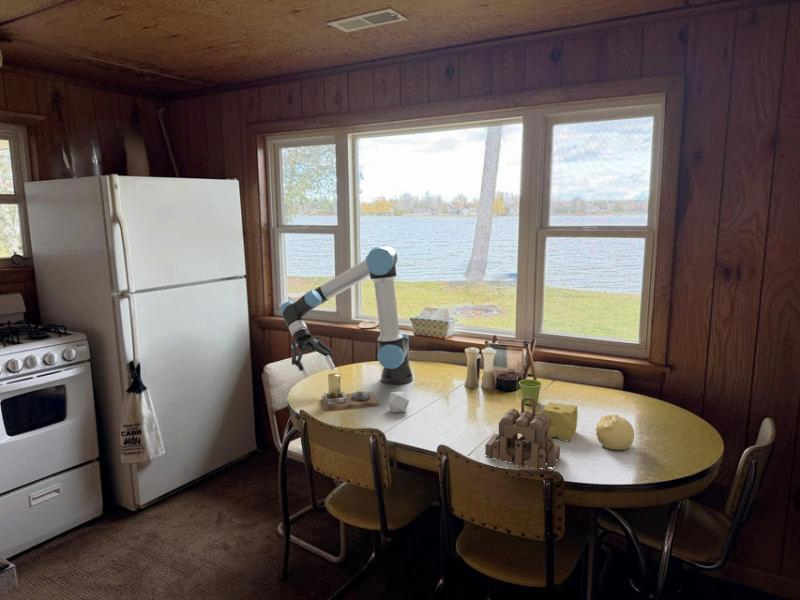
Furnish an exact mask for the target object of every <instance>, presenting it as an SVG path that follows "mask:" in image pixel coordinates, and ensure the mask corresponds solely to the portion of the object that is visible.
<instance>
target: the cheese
mask: <svg viewBox="0 0 800 600" xmlns="http://www.w3.org/2000/svg"><path fill="white" fill-rule="evenodd" d="M541 413H543V414H544V415H546V417H547V419H549V432H548V436H550V437H555V438H557V437H558V438H557V439H558V440H560V439H563V440H562V441H564V440H568V441H569V440H570V441H571V439H572V437H573V436H574V435H575V433H576V432H575V431H577V425H578V415H579V414H578V413H579V411H578V405H574V404H564V403H559V402H553V401H549V402H548V403H547V404H546V405H545V406H544V408H543V409H541ZM573 434H574V435H573ZM572 435H573V436H572ZM568 441H567V442H568ZM570 441H569V442H570Z"/></svg>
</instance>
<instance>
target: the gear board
mask: <svg viewBox="0 0 800 600" xmlns="http://www.w3.org/2000/svg"><path fill="white" fill-rule="evenodd" d="M321 399H322V405H323V410H324V411H327V412H328V411H339V410H346V409H348V410H349V409H356V408H368V407H377V406H379V402H378V401H377V398H376V396H375V394H374V393H373V391H372V390H371V391H363V390H360V391H359V390H358V391H355V392H350V393H345V391H341V398H334V399H329V392H324V393H323V395H321Z"/></svg>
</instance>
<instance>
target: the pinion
mask: <svg viewBox="0 0 800 600" xmlns="http://www.w3.org/2000/svg"><path fill="white" fill-rule="evenodd" d="M327 377H328V379H327V381H328V393H329V399H334V398H341V392H342V391H341V389H342V388H341V374H340V373H339V372H337V373H336V372H332V373H329V374H328V375H327Z"/></svg>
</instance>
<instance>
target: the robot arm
mask: <svg viewBox="0 0 800 600" xmlns="http://www.w3.org/2000/svg"><path fill="white" fill-rule="evenodd" d="M397 264H398V253H397V251H396V250H395V249H394V248H393V247H391V246H390V245H387V244H383V245H379V246H376V247H374V248H372V249H371V250H370V251H369V252H368V253H367V255H366V256H365V259H364V260H362V261H361V262H359V263H358V264H356V265H354V266H352V267H350V268H349V269H347V270H345V271H343V272H342V273H340V274H339V275H337V276H335V277H333V278H332V279H330V280H328V281H327V282H325V283H323V284H322V285H320V286H318V287H316V288H315V289H310V290H309V291H307V292H306V293H304V294H303V295H302V296H301V297H300V298H298V299H297V300H296V301H295V302H294V301H293V300H288V301H286V302H284V303H282V304H281V305H280V308H279V312H280V313H281V317H282V318H283V320H284V322H285V324H286V326H287V327H288V329H289V332H290V335H291V336H292V339H294V340H293V341H294V342H292V344H291V345H290V348H291V365H292V366H294V365H295V367H297V368H298V370H299V371H300V372H302V375H303V376H304V378H305V379H307V378H308V376H309V372H308V369H307V368H306V366H305V364H304V362H303V361H302V358H303V354H304V352H308V351H315V352H317V353H319V354H320V355H323V356H324V357H325V361H326V362H327V365H328V366H329V369H330V371H333V370H334V369H335V368H336V365H335V364H334V362H333V361H334V359H333V357H332V354H333V352H334V351H333V349H331V348H330V347H329V346H328V345H327V344H326V343H324V342H323V341H322V339H320V337H316V338H312V334H311V332H310V330H309V329H308V327H307V324H306V322H305V321H304V319H303V317H304V316H306V315H307V314H309V313H310V312H311V311H313V310H314V309H315V308H317V307H318V306H321V305H322V304H324V303H326V302H327V301H329V300H330V299H332V298H334V297H335V296H337V295H339V294H341V293H343V292H344V291H346V290H348V289H350V288H351V287H353V286H355V285H356V284H358V283H361V281H364V280H366V279H367V278H368V277H369V279H370V280H371V281H372V282H373V283H374V291H375V299H376V300H375V301H376V308H377V316H378V325H379V326H378V327H379V333H380V334H379V336H378V337H377V348H378V351H377V360H378V361H377V362H379V364H380V365H381V367H383V368H382V371H381V375H380V378H381V379H380V380H381V382H383V383H385V384H389V385H390V384H391V385H404V384H408V383H410V382H412V381H413V379H414V378H413V377H414V375H413V371H412V368H411V366H410V354H409V353H410V347H409V346H410V345H409V343H410V342H409V341H410V339H409V334H408V333H407V332H402V331H400V325H399V324H400V323H399V318H398V305H397V300H396V299H397V298H396V290H395V288H396V287H395V279H396V277H397V268H396V265H397ZM297 348H298V349H300V350H299V354H298V356H297Z"/></svg>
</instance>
